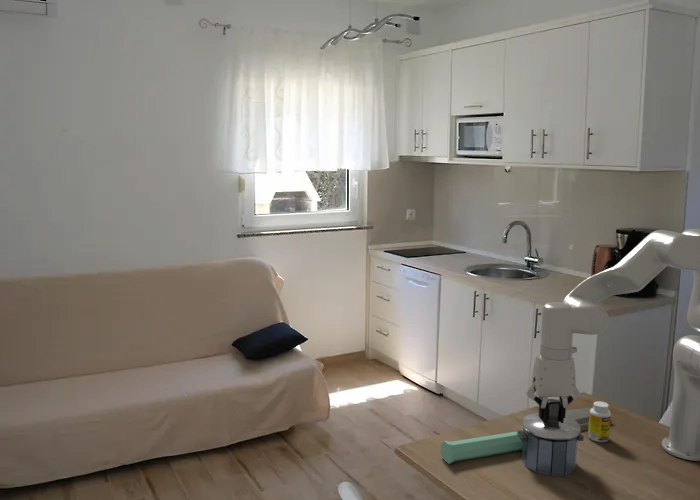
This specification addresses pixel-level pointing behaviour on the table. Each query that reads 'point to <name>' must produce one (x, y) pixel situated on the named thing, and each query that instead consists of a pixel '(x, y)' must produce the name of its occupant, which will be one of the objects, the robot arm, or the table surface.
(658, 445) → the table surface
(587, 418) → the soap mold
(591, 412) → the supplement bottle
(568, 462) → the pot
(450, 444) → the mint green octagonal rod
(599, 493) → the table surface
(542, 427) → the lid
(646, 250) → the robot arm
